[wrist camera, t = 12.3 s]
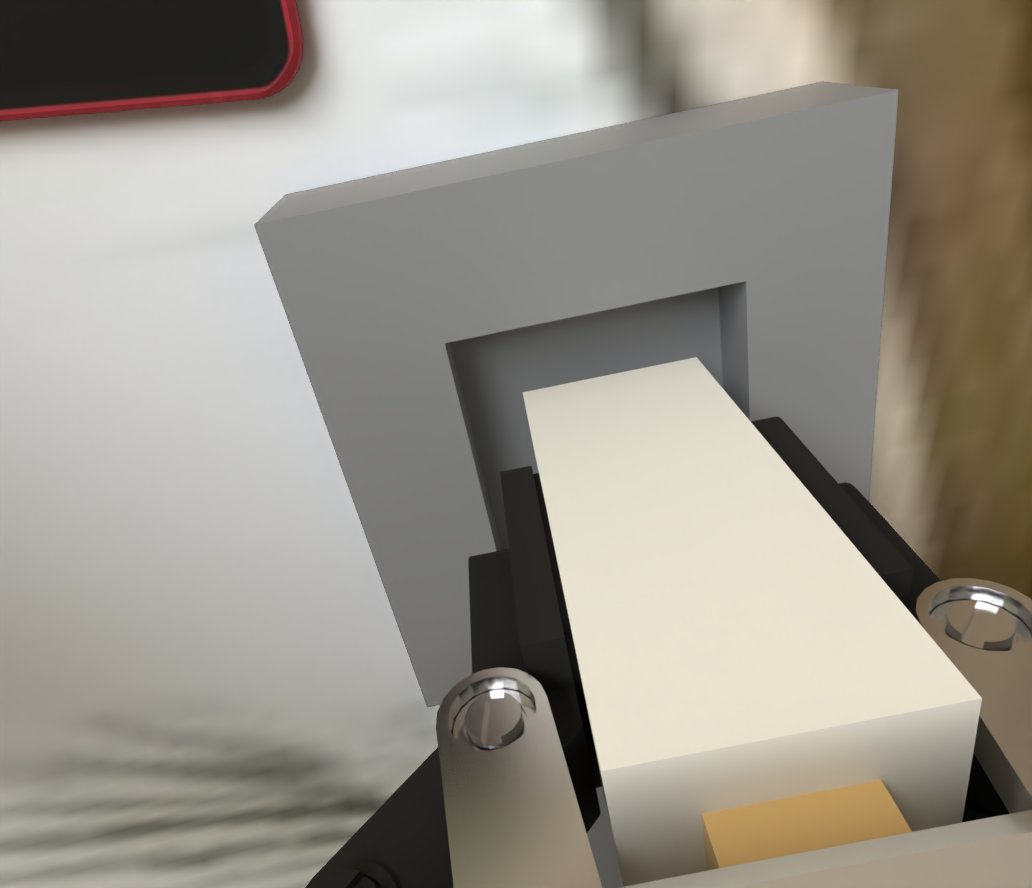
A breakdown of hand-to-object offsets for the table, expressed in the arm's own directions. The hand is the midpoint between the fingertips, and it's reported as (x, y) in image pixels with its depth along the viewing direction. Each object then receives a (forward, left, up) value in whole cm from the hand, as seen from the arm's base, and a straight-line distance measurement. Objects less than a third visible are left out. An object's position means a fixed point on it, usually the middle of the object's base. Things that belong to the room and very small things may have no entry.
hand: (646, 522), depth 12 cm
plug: (0, 0, -2) cm, 2 cm away
